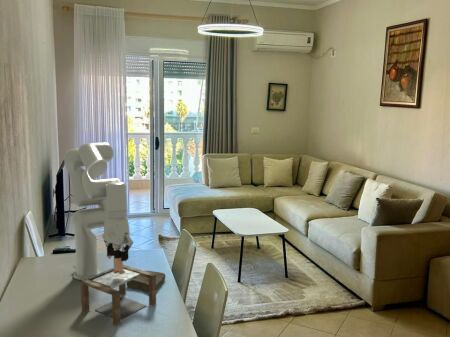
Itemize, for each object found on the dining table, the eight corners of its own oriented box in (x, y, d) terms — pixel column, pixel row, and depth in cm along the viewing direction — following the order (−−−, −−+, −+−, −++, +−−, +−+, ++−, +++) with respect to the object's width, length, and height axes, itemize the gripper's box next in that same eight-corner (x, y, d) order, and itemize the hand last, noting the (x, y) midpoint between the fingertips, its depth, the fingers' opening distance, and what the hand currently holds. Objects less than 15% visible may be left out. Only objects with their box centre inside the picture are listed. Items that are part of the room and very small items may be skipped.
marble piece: (154, 295, 183) (153, 285, 182) (122, 291, 186) (121, 282, 185) (168, 279, 199) (167, 271, 198) (138, 276, 202) (138, 268, 201)
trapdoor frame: (81, 311, 167) (80, 280, 165) (122, 292, 184) (121, 264, 182) (116, 326, 156) (115, 293, 154) (156, 304, 173) (155, 274, 172)
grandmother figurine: (129, 270, 170) (128, 240, 168) (126, 274, 166) (125, 243, 164) (109, 270, 170) (109, 239, 168) (106, 273, 167) (105, 242, 165)
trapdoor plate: (87, 281, 167) (87, 278, 167) (117, 269, 180) (117, 266, 180) (111, 289, 160) (110, 286, 160) (139, 276, 172) (139, 273, 172)
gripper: (93, 212, 166) (95, 256, 169) (125, 219, 157) (126, 265, 159) (108, 208, 173) (110, 250, 175) (139, 215, 163) (140, 260, 166)
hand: (117, 257), depth 167 cm, fingers closed on grandmother figurine, 7 cm apart
